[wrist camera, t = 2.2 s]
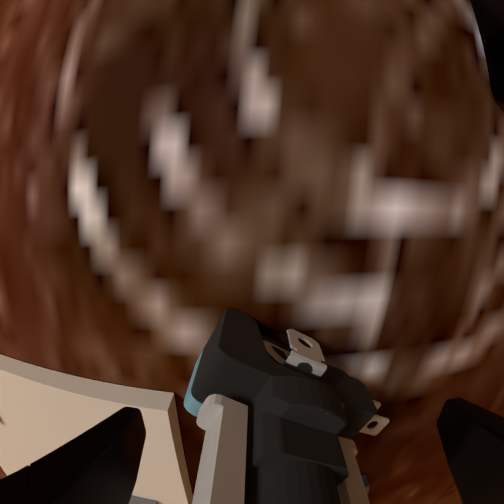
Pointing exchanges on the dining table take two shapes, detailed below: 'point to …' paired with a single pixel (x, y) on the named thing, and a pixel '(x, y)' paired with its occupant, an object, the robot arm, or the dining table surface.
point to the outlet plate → (88, 425)
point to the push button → (276, 420)
